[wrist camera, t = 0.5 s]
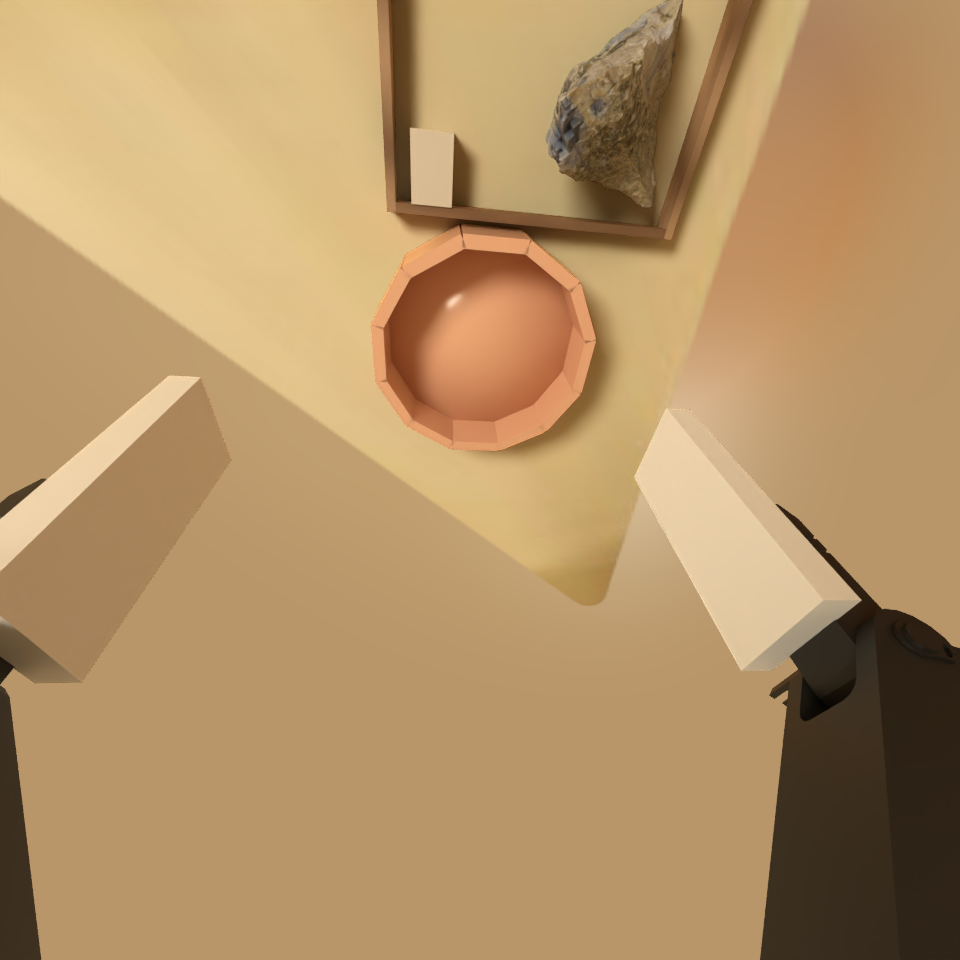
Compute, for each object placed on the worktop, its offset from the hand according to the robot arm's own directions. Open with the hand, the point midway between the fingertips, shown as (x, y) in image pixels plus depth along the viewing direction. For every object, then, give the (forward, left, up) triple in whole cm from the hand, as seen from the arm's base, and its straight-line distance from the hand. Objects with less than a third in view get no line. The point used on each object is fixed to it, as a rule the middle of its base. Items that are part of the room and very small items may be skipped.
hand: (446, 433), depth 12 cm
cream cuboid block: (-5, -1, -26) cm, 27 cm away
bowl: (+7, +3, -26) cm, 27 cm away
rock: (-14, +9, -22) cm, 28 cm away
